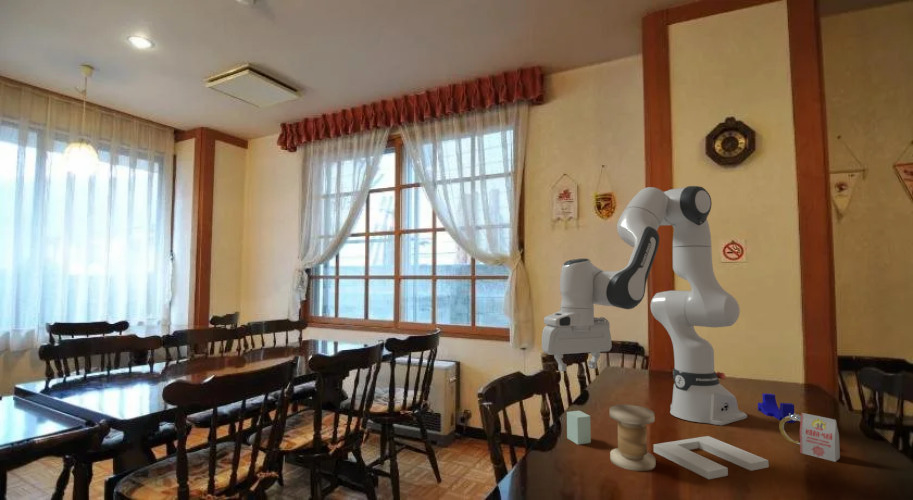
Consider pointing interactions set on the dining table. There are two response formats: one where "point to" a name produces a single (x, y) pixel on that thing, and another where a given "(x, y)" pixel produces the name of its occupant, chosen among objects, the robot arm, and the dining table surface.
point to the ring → (792, 417)
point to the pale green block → (578, 427)
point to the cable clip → (775, 408)
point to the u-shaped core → (702, 465)
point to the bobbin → (632, 437)
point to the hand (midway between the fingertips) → (577, 369)
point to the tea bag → (819, 437)
